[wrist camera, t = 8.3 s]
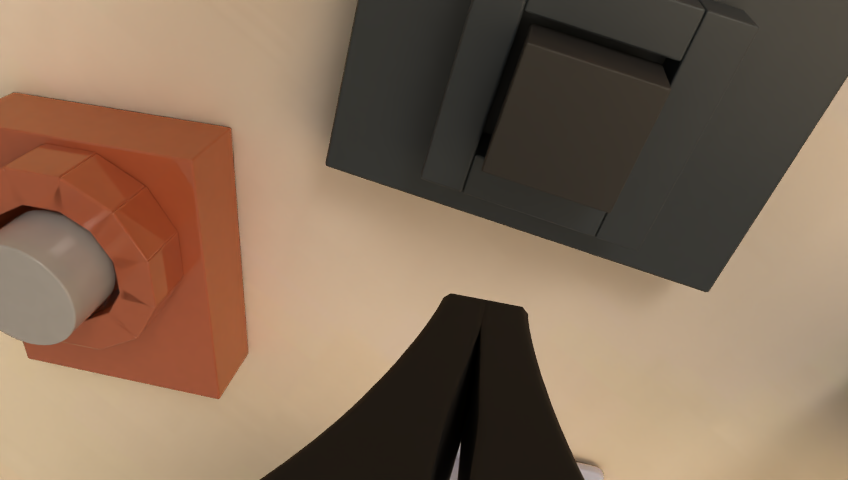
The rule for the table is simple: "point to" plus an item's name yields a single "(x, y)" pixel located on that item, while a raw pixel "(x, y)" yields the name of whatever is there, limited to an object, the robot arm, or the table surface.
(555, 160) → the dark top block
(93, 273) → the gray push button
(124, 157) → the orange knob plate
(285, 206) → the table surface
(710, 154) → the dark gray socket plate
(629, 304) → the table surface
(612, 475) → the table surface
